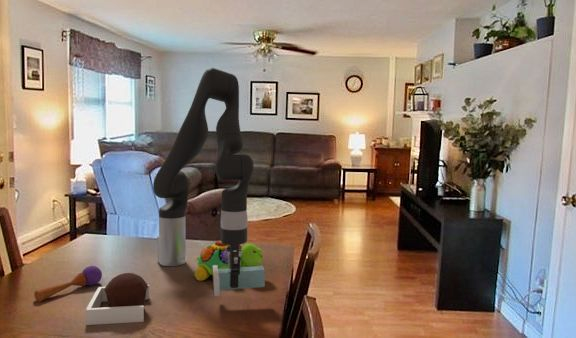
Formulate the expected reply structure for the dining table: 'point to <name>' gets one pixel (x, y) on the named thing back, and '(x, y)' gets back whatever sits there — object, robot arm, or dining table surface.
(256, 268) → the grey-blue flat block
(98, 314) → the bay
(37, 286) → the dining table surface
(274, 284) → the dining table surface
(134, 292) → the muffin
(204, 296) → the dining table surface
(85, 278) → the purple ball-ended brown rod
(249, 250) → the turtle toy
